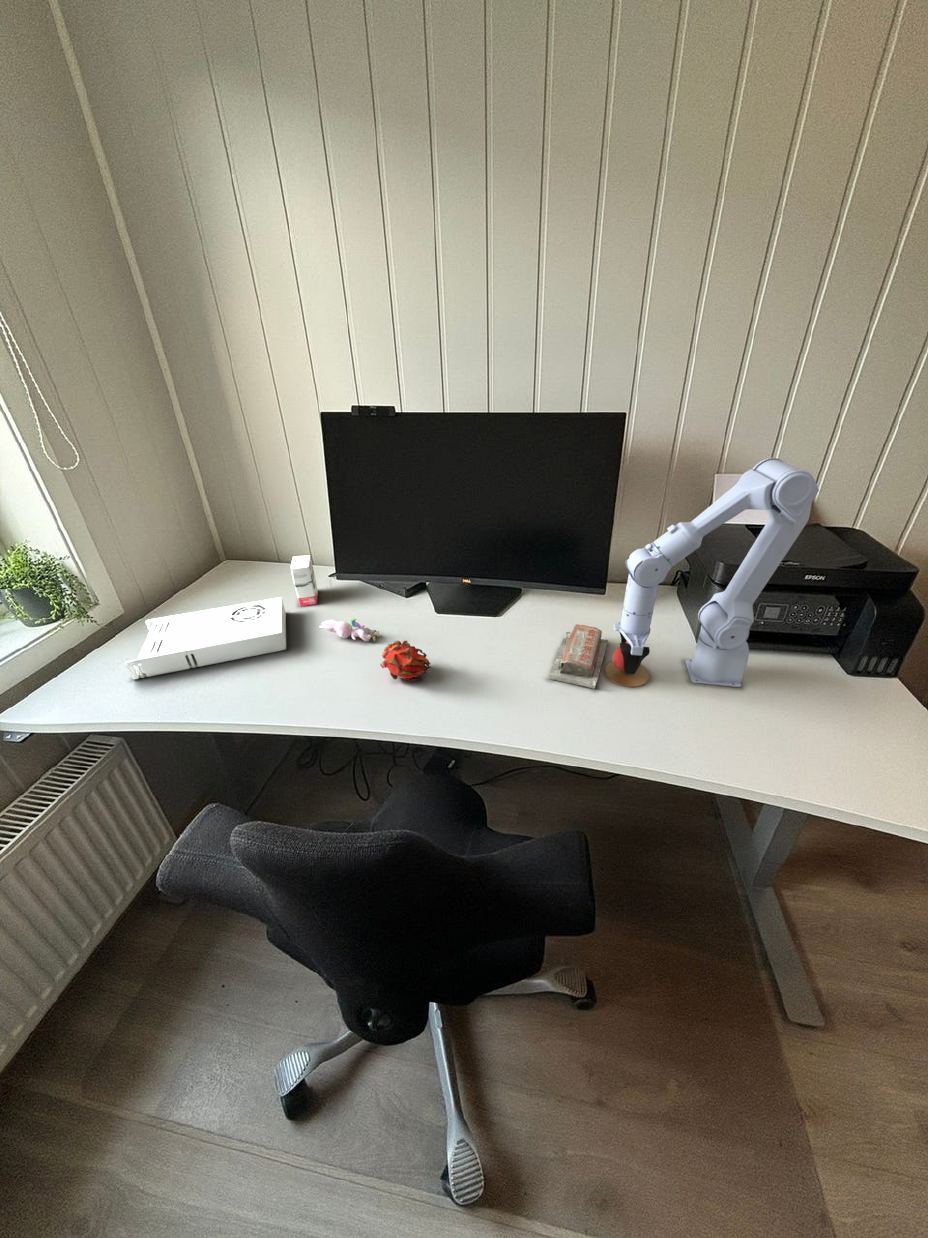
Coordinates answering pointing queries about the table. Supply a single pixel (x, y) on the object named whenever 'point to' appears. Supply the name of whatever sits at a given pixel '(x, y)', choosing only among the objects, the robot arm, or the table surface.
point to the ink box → (304, 580)
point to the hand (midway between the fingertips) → (628, 663)
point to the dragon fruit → (404, 661)
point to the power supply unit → (211, 637)
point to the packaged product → (579, 657)
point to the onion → (619, 659)
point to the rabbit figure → (349, 629)
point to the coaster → (626, 676)
